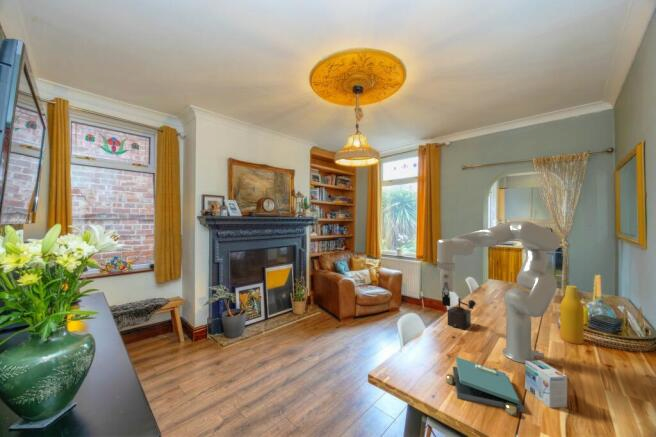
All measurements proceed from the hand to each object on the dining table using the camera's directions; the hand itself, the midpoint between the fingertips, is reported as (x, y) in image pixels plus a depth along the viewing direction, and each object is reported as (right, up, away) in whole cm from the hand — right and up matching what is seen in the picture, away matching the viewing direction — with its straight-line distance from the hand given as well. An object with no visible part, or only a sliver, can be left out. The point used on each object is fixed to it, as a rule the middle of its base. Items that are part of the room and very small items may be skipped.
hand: (446, 302), depth 122 cm
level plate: (+4, -22, -22) cm, 32 cm away
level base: (+3, -26, -22) cm, 34 cm away
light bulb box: (+24, -26, -27) cm, 44 cm away
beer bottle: (+75, -26, +18) cm, 82 cm away
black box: (+26, -26, +36) cm, 52 cm away
